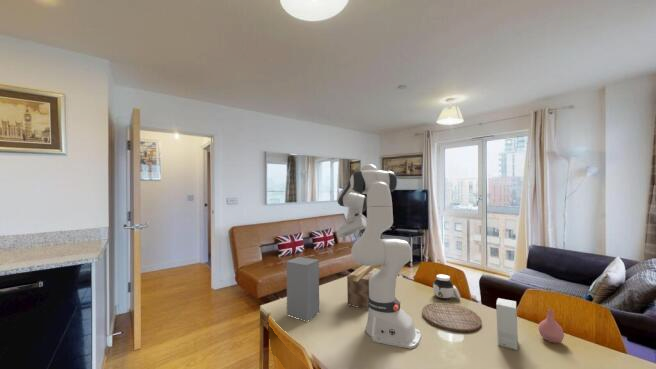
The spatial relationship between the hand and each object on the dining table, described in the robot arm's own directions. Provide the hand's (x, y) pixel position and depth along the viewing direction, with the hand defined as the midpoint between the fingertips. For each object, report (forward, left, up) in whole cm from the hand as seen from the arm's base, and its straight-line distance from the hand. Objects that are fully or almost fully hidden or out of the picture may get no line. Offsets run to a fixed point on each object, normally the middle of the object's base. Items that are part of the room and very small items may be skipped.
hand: (349, 238), depth 151 cm
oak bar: (-11, +8, -17) cm, 22 cm away
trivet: (-53, +3, -32) cm, 62 cm away
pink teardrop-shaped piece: (-89, +3, -32) cm, 95 cm away
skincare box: (-74, +13, -32) cm, 82 cm away
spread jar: (-49, -21, -32) cm, 62 cm away
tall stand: (+9, +34, -32) cm, 47 cm away
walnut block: (-11, +9, -32) cm, 35 cm away
